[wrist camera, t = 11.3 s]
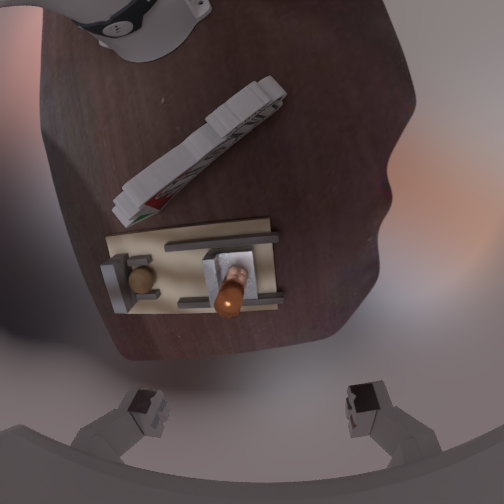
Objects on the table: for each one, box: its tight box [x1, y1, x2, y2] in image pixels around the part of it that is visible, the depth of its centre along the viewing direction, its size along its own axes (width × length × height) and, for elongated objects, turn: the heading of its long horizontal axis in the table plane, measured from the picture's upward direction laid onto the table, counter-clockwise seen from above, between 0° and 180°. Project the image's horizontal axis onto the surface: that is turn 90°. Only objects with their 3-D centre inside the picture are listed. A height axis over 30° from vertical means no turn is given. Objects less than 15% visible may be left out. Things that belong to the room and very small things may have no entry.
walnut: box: [129, 268, 154, 294], centre depth 41 cm, size 4×4×4 cm
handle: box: [202, 246, 259, 318], centre depth 36 cm, size 7×6×10 cm
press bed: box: [100, 217, 284, 314], centre depth 41 cm, size 14×27×6 cm, turn 97°
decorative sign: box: [112, 76, 287, 228], centre depth 32 cm, size 23×3×15 cm, turn 129°
